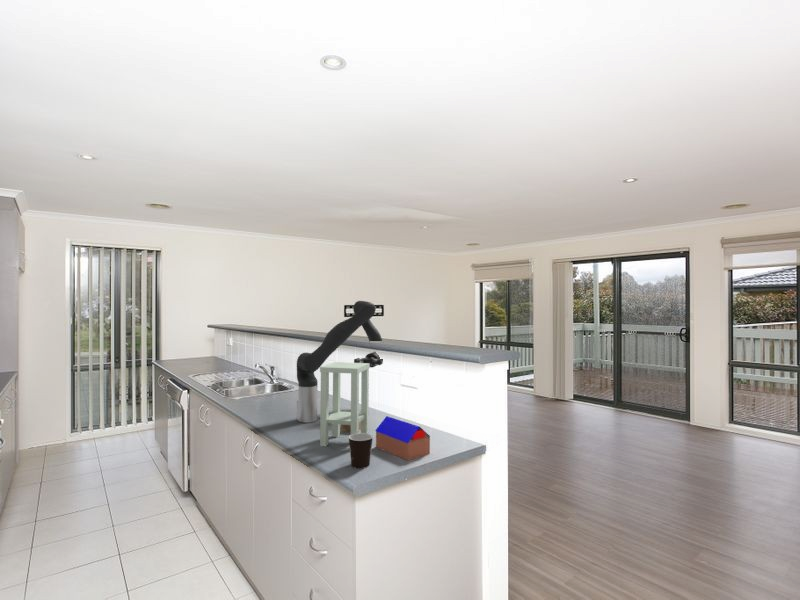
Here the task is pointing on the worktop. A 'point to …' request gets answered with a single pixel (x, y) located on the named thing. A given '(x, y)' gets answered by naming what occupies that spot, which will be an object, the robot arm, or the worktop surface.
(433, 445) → the worktop surface
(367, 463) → the dark brown cup
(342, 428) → the cube on tan board
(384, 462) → the worktop surface
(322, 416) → the tall stand
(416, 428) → the house
